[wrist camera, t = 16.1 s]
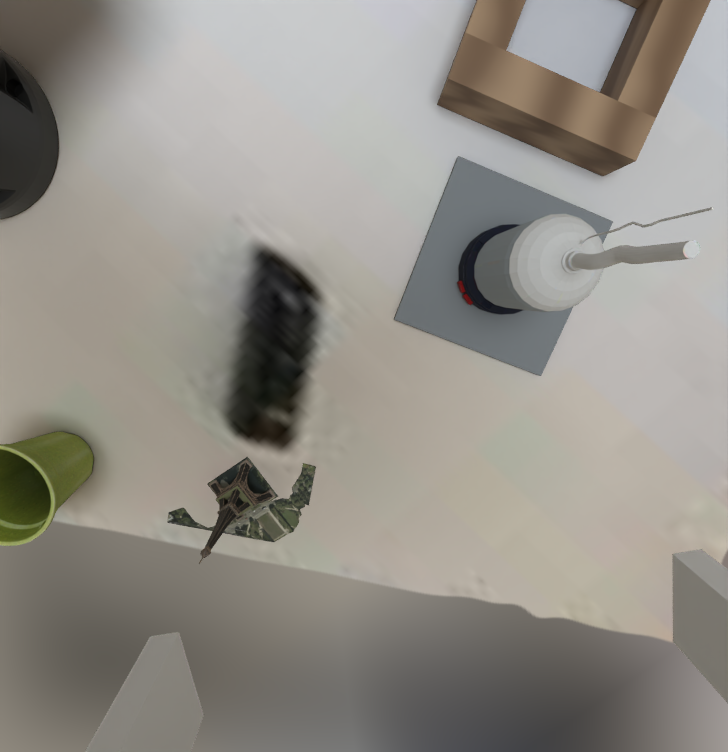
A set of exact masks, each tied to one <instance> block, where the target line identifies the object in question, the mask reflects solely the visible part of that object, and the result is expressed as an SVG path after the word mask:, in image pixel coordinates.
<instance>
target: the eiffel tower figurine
mask: <svg viewBox="0 0 728 752" xmlns="http://www.w3.org/2000/svg"><path fill="white" fill-rule="evenodd" d="M315 468H316V467H315V466H311V465H307V464H304V463H303V467H302V473H301V474H300V476H299V478H298V479H297V481H296V482H295V484H294V485H293V487H292V491H293V494H292V495H290V498H289V499H283V498H282V499H279V500H274V501H271V500H273V499H274V498H276V497H278V496H277V494H276V493H275V492H274V490H273V489H272V488H271V487H270V485H269V484H268V483H267V481H266V480H265V479H264V477H263V476H262V475H261V474H260V472H259V471H258V470H257V468H256V467H255V466H254V465H253V463H252V462H251V461H250V459H249V458H248V457H246V458H245V459H243V460H242V461H240V462H239V463H238V464H236V465H235V466H233V467H232V468H230V469H229V470H227V471H226V472H224V473H223V474H221V475H220V476H218V477H217V478H215V479H214V480H212V481H211V482H209V483H208V486H209V487H210V488H211V489H212V491H213V492H214V493H215V494H216V496H217V498H216V501H217V502H218V503H219V505H220V510H219V511H218V514H219V517H218V520H217V522H216V525H215V526H214V527H210V528H207V527H205V526H203V525H201V524H199V523H197V522H195V521H194V520H193V519H192V518H191V516H190V515H189V514H188V513H187V511H186V510H185V509H184V508H180V509H177V510H174V511H172V512H169V515H168V523H172V524H177V525H183V526H188V527H194V528H199V529H205V530H210V531H213V532H212V534H211V536H210V538H209V540H208V542H207V544H206V546H205V548H204V549H203V550H202V551H201V555H202V559H203V558H205V557H207V556H208V555H209V554H210V553H211V549H212V547H213V546H214V545H215V543H216V542H217V540H218V539H219V538H220V536H221V535H222V533H226V534H231V535H237V536H242V537H248V538H253V539H259V540H264V541H270V542H275V541H277V540H278V539H280V538H282V537H283V536H285V535H286V534H289V533H291V532H293V531H294V529H295V528H296V527H297V525H298V523H299V517H300V516H301V515H302V514H301V512H300V509H301V508H303V507H305V504H306V505H309V500H310V495H311V489H312V483H313V478H314V473H315ZM202 559H201V561H202ZM201 561H200V562H201ZM200 562H199V563H200Z"/></svg>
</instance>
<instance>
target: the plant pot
mask: <svg viewBox="0 0 728 752" xmlns="http://www.w3.org/2000/svg"><path fill="white" fill-rule="evenodd" d="M93 460H94V458H93V454H92V451H91V449H90V448H89V446H88V445H87V444H86V443H85V442H84V440H82V439H81V438H80V437H78V436H76V435H73V434H69V433H64V432H54V433H50V434H46V435H42V436H39V437H35V438H31V439H28V440H24V441H20V442H16V443H13V444H3V445H0V545H3V546H15V545H21V544H25V543H28V542H30V541H32V540H34V539H36V538H37V537H38V536H40V535H41V534H42V533H43V532H44V531H45V530H46V529H47V528H48V526H49V525H50V523H51V522H52V520H53V517H54V515H55V513H56V511H57V509H58V508H59V507H60V506H61V505H62V504H63V503H64V502H65V501H66V500H67V499H68V498H69V497H70V496H71V495H72V494H73V493H74V492H75V491H76V490H77V489H78V488H79V487H80V486H81V485H82V484H83V483H84V482H85V481H86V480H87V479H88V477H89V476H90V475H91V473H92V466H93Z"/></svg>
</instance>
